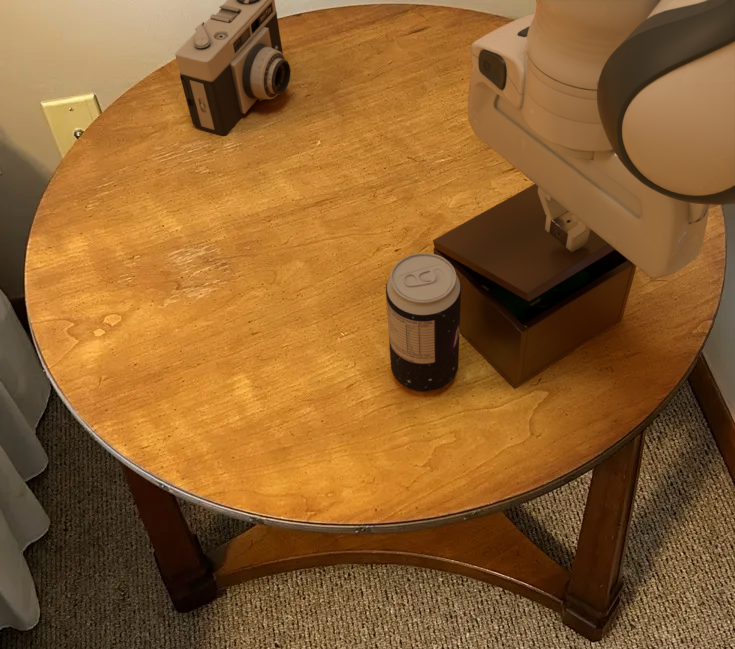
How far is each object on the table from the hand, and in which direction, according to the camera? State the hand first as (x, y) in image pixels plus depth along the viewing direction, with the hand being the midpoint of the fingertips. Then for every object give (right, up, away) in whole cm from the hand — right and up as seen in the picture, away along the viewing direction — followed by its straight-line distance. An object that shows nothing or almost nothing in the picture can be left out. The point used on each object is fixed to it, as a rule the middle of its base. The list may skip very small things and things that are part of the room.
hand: (565, 237), depth 66 cm
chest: (-1, -6, +11) cm, 12 cm away
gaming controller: (0, -6, +8) cm, 10 cm away
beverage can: (-10, -11, +8) cm, 17 cm away
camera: (-28, +19, +33) cm, 47 cm away
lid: (-1, 0, +3) cm, 4 cm away
